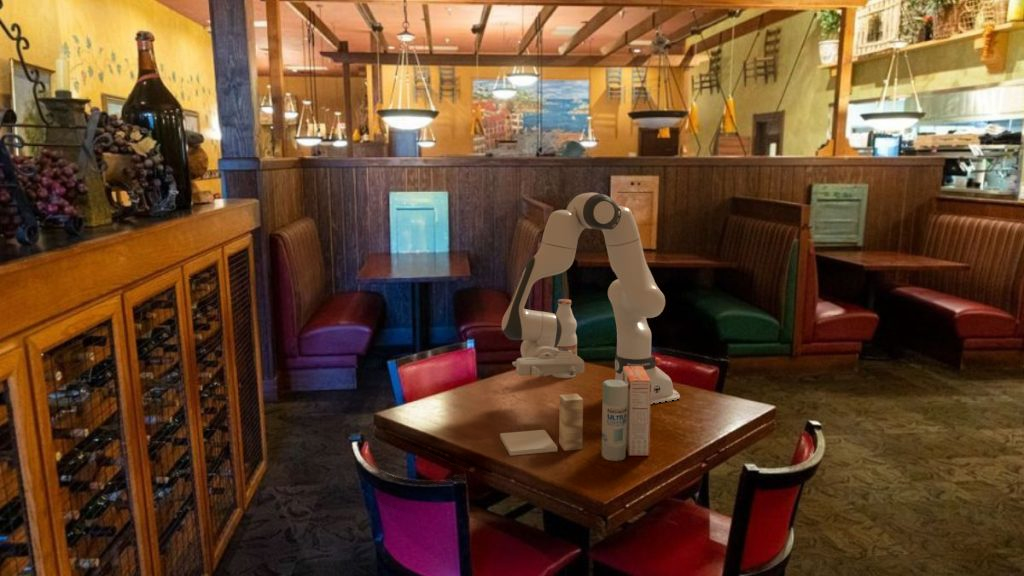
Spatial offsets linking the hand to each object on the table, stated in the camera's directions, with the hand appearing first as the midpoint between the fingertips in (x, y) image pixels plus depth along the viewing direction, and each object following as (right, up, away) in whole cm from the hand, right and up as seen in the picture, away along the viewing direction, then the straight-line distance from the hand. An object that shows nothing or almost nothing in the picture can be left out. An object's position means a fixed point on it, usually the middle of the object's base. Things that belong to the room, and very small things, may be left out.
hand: (557, 373), depth 201 cm
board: (-9, -19, -7) cm, 22 cm away
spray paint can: (+14, -20, -15) cm, 29 cm away
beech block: (+3, -19, -9) cm, 21 cm away
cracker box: (+21, -19, -9) cm, 29 cm away
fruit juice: (+6, -8, +58) cm, 59 cm away
